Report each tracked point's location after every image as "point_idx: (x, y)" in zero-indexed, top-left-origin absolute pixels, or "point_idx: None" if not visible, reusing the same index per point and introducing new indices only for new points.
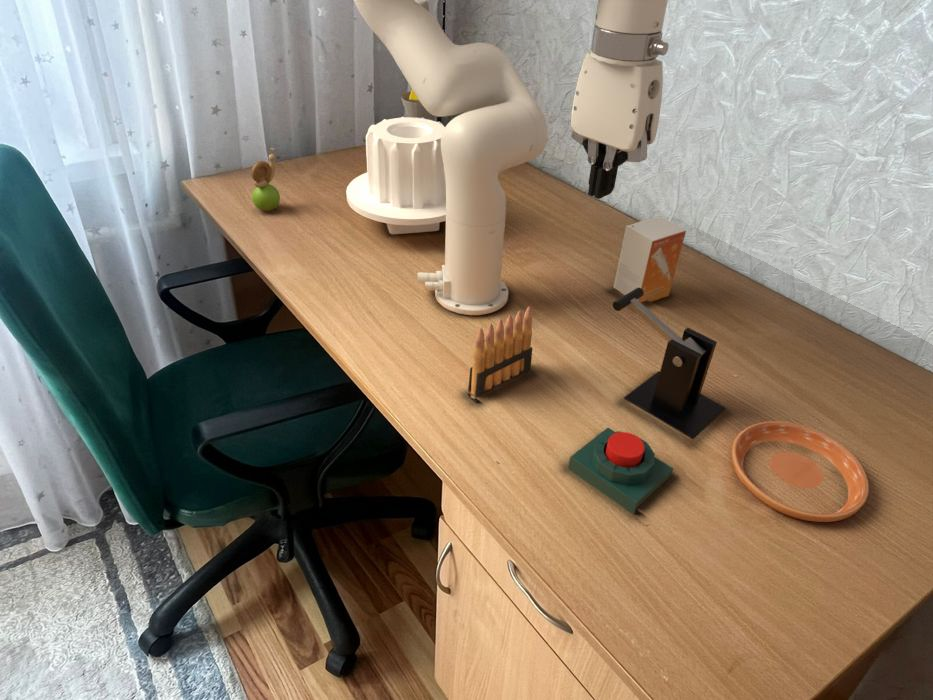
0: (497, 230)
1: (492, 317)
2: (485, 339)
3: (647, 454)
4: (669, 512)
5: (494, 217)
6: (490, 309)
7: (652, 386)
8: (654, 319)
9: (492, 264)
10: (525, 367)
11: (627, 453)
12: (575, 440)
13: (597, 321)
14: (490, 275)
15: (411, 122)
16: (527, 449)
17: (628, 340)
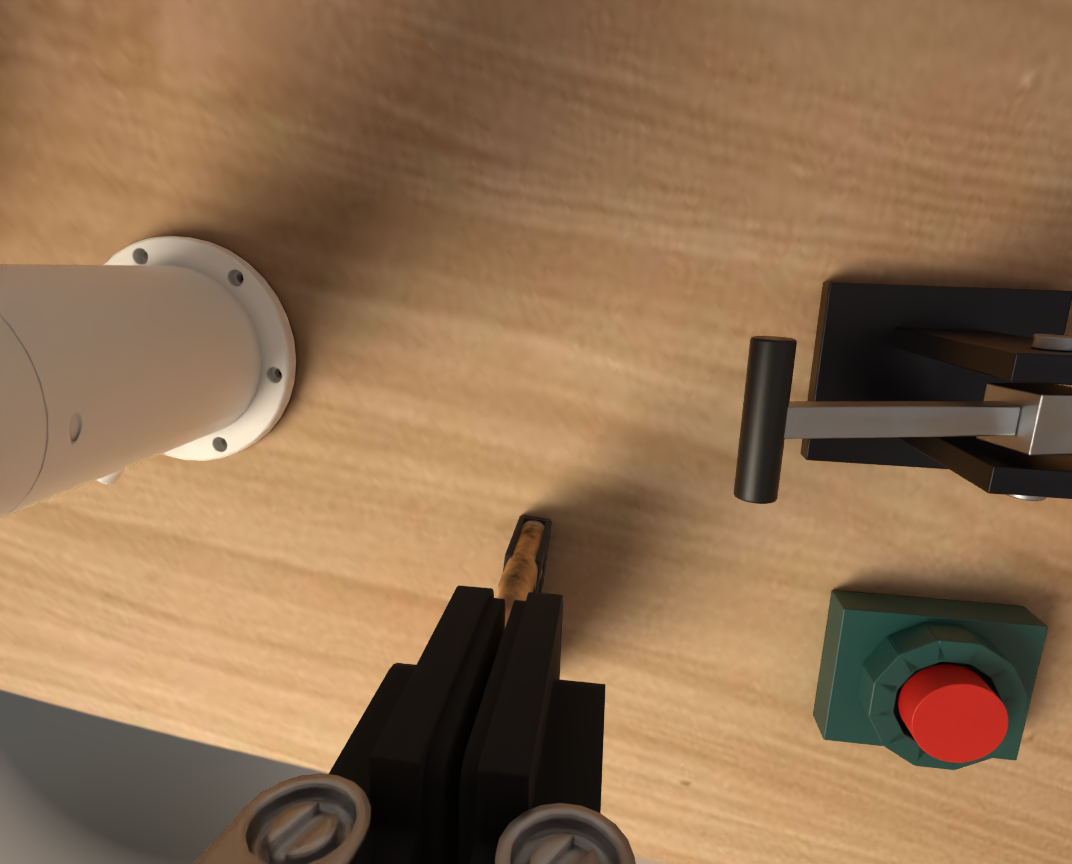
0: (75, 398)
1: (310, 391)
2: None
3: (999, 678)
4: (1059, 682)
5: (19, 438)
6: (287, 387)
7: (848, 362)
8: (896, 428)
9: (178, 387)
10: (545, 554)
11: (976, 745)
12: (776, 635)
13: (532, 166)
14: (204, 385)
15: None
16: (709, 720)
17: (662, 181)
